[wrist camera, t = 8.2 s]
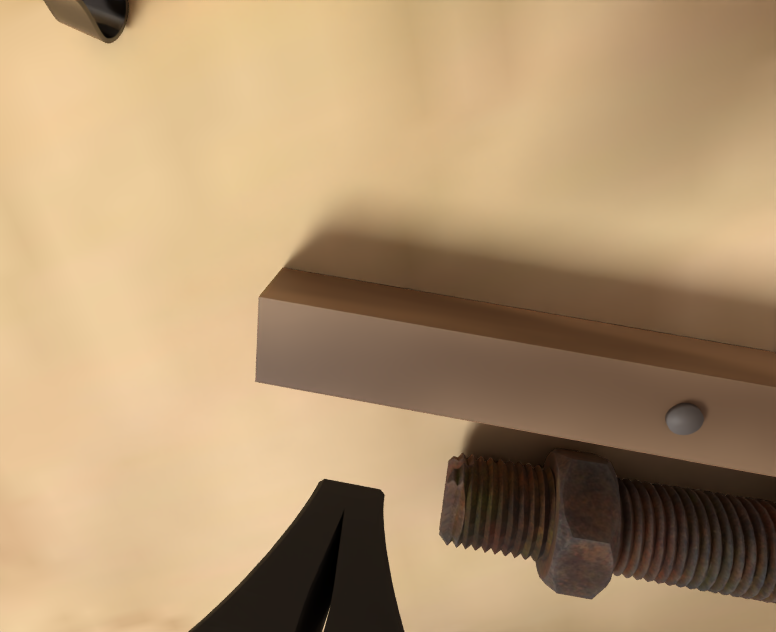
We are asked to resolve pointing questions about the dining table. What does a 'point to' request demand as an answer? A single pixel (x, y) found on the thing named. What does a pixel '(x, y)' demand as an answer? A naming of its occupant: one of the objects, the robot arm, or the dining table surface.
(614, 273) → the dining table surface
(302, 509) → the robot arm
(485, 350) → the batten
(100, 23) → the coffee press
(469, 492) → the bolt
